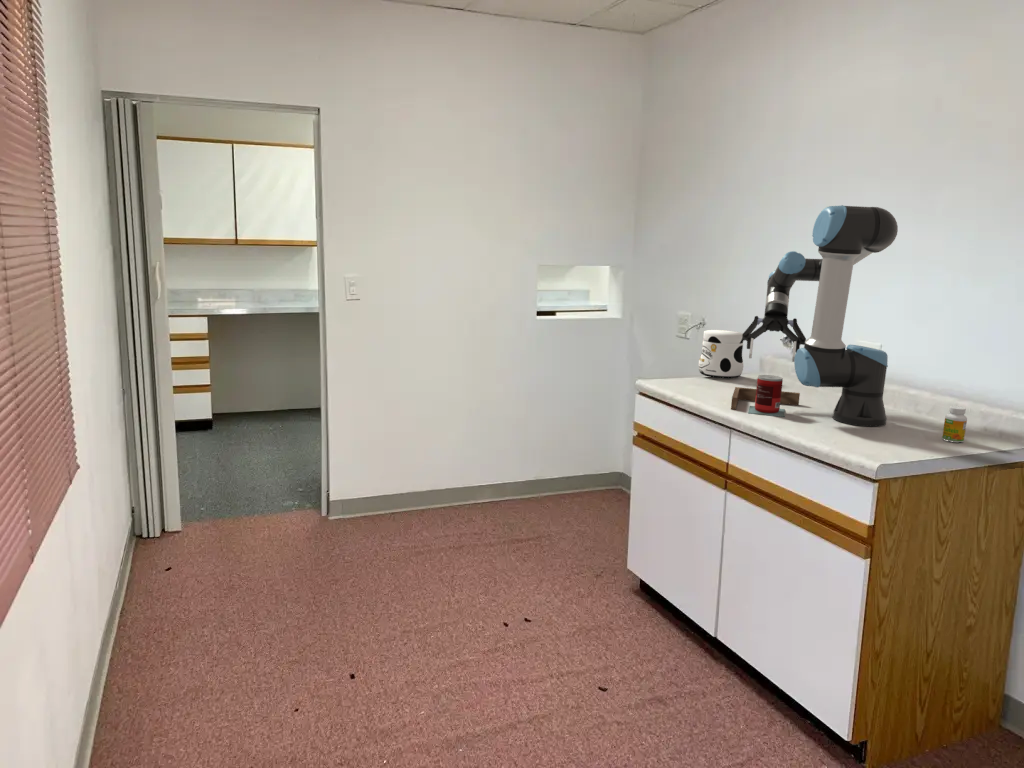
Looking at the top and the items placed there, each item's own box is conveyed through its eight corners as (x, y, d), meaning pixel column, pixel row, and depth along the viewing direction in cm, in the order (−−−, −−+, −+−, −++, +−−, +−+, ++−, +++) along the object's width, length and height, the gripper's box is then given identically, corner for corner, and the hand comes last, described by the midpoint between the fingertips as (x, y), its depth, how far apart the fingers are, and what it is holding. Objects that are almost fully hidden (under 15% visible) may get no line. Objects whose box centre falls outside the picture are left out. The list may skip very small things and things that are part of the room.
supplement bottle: (939, 440, 217) (944, 407, 215) (945, 437, 220) (950, 404, 218) (960, 444, 213) (965, 410, 211) (966, 441, 216) (971, 408, 215)
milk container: (689, 375, 307) (692, 331, 303) (713, 371, 318) (717, 328, 315) (726, 382, 294) (730, 336, 291) (750, 378, 306) (754, 333, 302)
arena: (798, 404, 259) (799, 392, 258) (799, 418, 238) (801, 406, 237) (734, 398, 265) (735, 386, 264) (730, 411, 244) (731, 399, 244)
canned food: (776, 408, 249) (779, 375, 247) (781, 414, 242) (785, 379, 240) (752, 407, 250) (755, 374, 248) (756, 412, 242) (760, 378, 240)
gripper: (813, 318, 263) (810, 367, 252) (738, 313, 270) (732, 361, 259) (816, 303, 257) (813, 353, 246) (739, 299, 265) (733, 347, 253)
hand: (771, 357), depth 253 cm, fingers open, 13 cm apart
